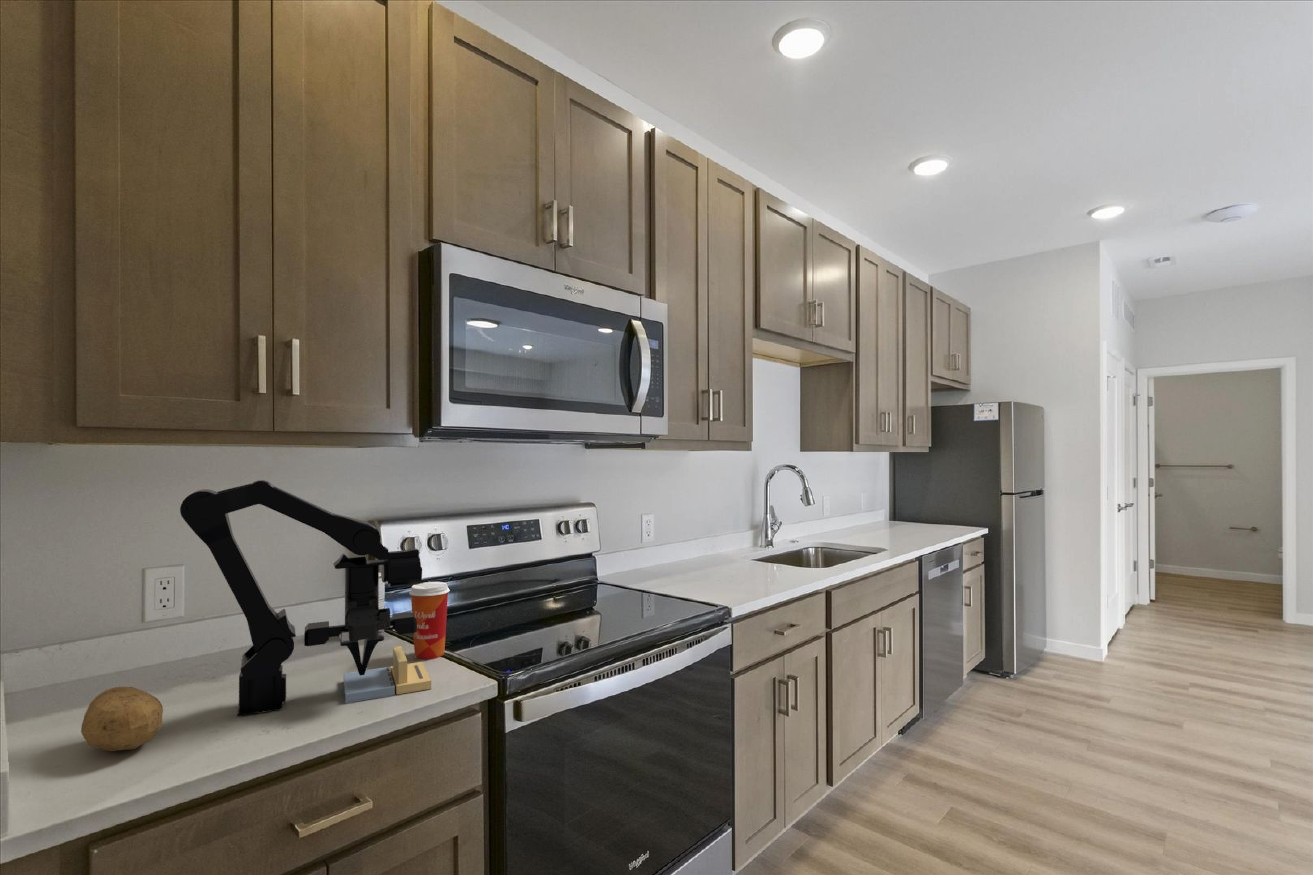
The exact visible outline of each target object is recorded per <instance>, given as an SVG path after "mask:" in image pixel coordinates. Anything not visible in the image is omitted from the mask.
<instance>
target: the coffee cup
mask: <svg viewBox="0 0 1313 875" xmlns="http://www.w3.org/2000/svg"><path fill="white" fill-rule="evenodd" d="M450 591H451V590H450V588H449V586H448V583H446V582H443V581H427V582H426V581H425V582H421V583H420V584H415V585H411V589H410V591H409V592H408V593H409V595H410V599H411V602H410V603H411V612H412V613H413V614H414V616H415V617H416V619H417V632H415V633H412V634H413V635H412V636H413V637H412V638H413V648H414V650H413V651H414V658H416V659H418V660H434V659H438V658H441V657H442V656H444V655H445V650H446V649H445V647H446V635H447V634H446V633H447V632H446V631H447V620H448V619H447V616H448V614H447V613H448V598H449V597H448V596H449V592H450Z"/></svg>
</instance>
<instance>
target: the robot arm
mask: <svg viewBox="0 0 1313 875" xmlns="http://www.w3.org/2000/svg"><path fill="white" fill-rule="evenodd" d="M256 505H260V506H261V505H262V506H264V507H266V508H268V509H271V510H273V511H275V512H277V513H279V514H282V515H283V516H286V517H287V518H288V517H289V518H291V519H293V520H295V521H298V522H300V523H302V524H303V525H306V526H308V527H309V528H310V527H311V528H313V529H315V530H318V531H320V532H321V533H324V534H326V535H327V536H328V537H330V538H331V539H332V540H334V541H335V542H337V543H338V544H339V545H341V546H342V547H344V548H345V549H346V550H348V551H349V552H351V553H353V554H355V555H357V556H353V557H352V556H350V557H348V556H347V555H346V553H342V554H340V557H339V558H337V560H335V562H333V564H332V565H333V567H334V569H335V570H340V569H344V624H340V625H339V624H338V625H330V621H329V620H326V621H317V622H310V623H309V622H308V623H307V624H306V626H305V627H304V634H303V635H304V636H303V639H304V642H303V643H304V647H312V646H313V647H314V646H321V645H325V644H326V643H327V642H328V641H330V638H333V637H334V638H335V637H339V644H340V646H341V647H347V649H348V650H349V652H350V654H351V655H352V658H353V661H354V664H355V666H356V668H357V672H359V675H360V676H361V675H364V674H365V672H366V670H368V669H367V668H368V666H369V662H370V659H371V657H372V654H373V652H374V649H375V648H376V646H377V644H378V643H379V642H383V641H384V640H385V636H384V633H385V631H389V630H394V631H395V632H396V633H397V634H398V635H407V634H413V633H415V632H417V619H416V617H415V616H414V614H413V613H412V611H407V612H397V613H392V615H391V608H389V607H386V608H385V607H384V609H379V573H381V578H382V582H385V583H386V584H387V586H388V588H393V587H403V586H404V587H405V586H413V585H416V584H420V583H422V578H423V567H422V564H421V557H420V550H419V549H418V548H408V549H405V550H404V549H403V550H394V551H392V550H391V551H389V548H388V547H386V546H384V545H383V544H382V542H381V535H380V534H381V533H380V531H379V529H378V528H376V526H374V525H373V524H372V523H369V522H368V521H365V520H361V519H357V518H353V517H350V516H346V515H341V514H338V513H335V512H332V511H329V510H327V509H325V508H322V507H320V506H318V505H316V504H314V503H311V502H310V501H308V500H306V499H303V498H302V497H299V496H298V495H295V494H292V493H290V492H288V491H286V490H284V489H282V488H279V487H277V486H275V485H274V484H272V483H271V482H270V481H268V480H265V479H258V480H256V481H253V482H251V483H248V484H244V485H239V486H234V487H231V488H227V489H223V490H218V491H216V490H212V489H205V488H202V489H200V490H198V489H197V490H196V491H193V492H192V493H191V494H189V495H187V496H186V497H185V498H184V499H183V501H182V503H181V505H180V508H179V512H180V515H181V517H182V519H183V520H184V522H185V523H186V524H187V525H188V527H189V528H190V529H191V530H192V531H193V533H195V535H196V537H197V536H198V538H199V539H200V540H201V541H202V542H203V544H205V545H206V546H207V547H208V549H209V550H210V552H211V554H212V556H213V558H214V560H215V561H216V564H217V566H218V567H219V569H220V570H219V571H221V573H222V576H223V577H224V579H225V581H226V583H227V584H228V587H229V588H230V590H231V592H232V594H233V596H234V598H235V600H236V602H237V603H238V605H239V607H240V609H241V611H242V614H244V616H245V619H246V622H247V626H248V631H249V635H250V639H251V643H252V646H250V648H248V649H247V650H246V651H245V652H244V654H243V655H241V664H240V673H239V675H238V708H237V712H236V716H237V717H240V716H242V717H243V716H246V715H252V714H260V713H266V712H272V711H278V710H281V709H282V708H283V703H285V702H286V700H287V674H286V673H283V672H284V671H283V668H284V667H283V665H282V664H283V663H284V662H286V661H287V660H288V659H289V658H290V657H291V656H292V653H293V652H294V649H295V641H294V638H296V636H297V633H296V627H295V625H293V624H292V623H291V622H290V620H289V618H288V615H287V610H286V608H283V609H281V610H280V611H279V612H277V611H275V610H274V608H273V607H272V606H271V605H270V603H269V602H268V600H267V598H266V596H265V594H264V591H263V590H262V588H261V586H260V585H259V583H258V580H257V578H256V577H255V575H254V572H253V571H252V569H251V568H250V565H249V563H248V562H247V559H246V558H245V556H244V554H243V551H242V550H241V548H240V546H239V544H238V542H237V540H236V538H235V535H234V533H233V529H232V524H231V521H230V516H229V514H230V513H234V512H237V511H240V510H242V509H246V508H249V507H250V508H251V507H253V506H256ZM367 555H370V556H371V557H373V558H374V559H371V560H367V558H366V556H367ZM379 568H380V570H379ZM362 640H363V642H364V643H363V651H362V659H361V652H360V651H361V650H360V645H359V641H362Z"/></svg>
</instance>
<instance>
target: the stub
mask: <svg viewBox="0 0 1313 875" xmlns="http://www.w3.org/2000/svg"><path fill="white" fill-rule="evenodd" d="M392 650H393V651H392V654H393V655H392V656H393V657H392V660H393V662H392V663H393V664H392V666H389V670H390V673H391V676H392V679H393V683H394V686H395V695H401V694H408V693H409V694H410V693H415V692H419V691H420V692H421V691H426V690H432V679H431V678H430V677H431V676H430V675H429V673H428V670H427V669H426V666H425V665H424V662H423V661H418V662H412V663H411V662H410V663H408V659H407V656H406V653H405V651H404V649H403V646H402V645H400V646H394V647H393V648H392Z"/></svg>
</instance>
